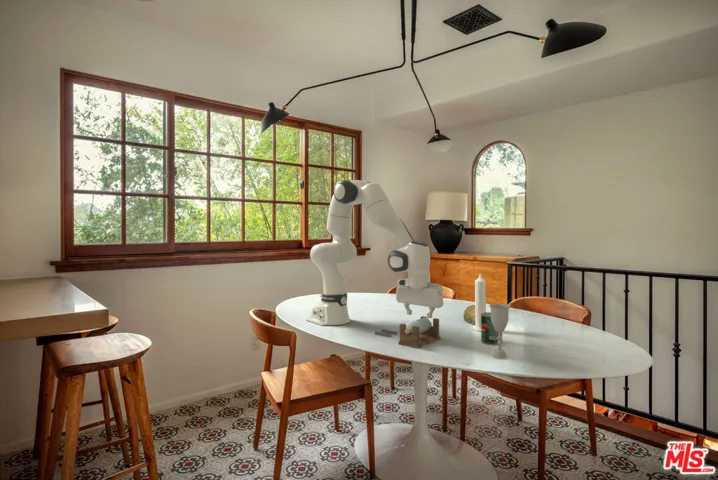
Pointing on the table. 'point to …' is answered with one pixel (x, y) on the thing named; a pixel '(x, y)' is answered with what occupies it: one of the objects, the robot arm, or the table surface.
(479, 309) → the candle
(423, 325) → the paper roll
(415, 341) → the roll holder
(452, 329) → the table surface
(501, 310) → the chalice
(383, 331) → the rest strips
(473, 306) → the pastry
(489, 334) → the canned tomato
